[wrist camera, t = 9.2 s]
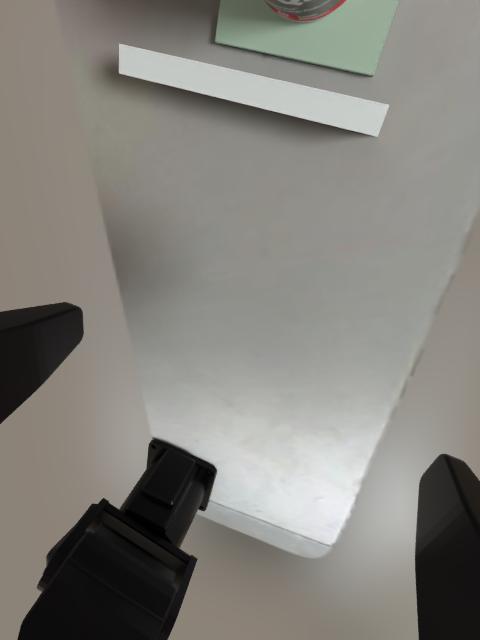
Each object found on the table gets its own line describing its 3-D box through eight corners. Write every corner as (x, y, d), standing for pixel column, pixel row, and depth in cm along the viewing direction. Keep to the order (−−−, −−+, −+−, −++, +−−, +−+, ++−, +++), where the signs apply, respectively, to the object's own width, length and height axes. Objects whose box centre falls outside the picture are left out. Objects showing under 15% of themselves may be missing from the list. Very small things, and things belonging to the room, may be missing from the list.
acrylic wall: (377, 136, 15) (377, 136, 12) (156, 82, 17) (118, 73, 14) (386, 110, 14) (389, 105, 12) (158, 57, 16) (119, 43, 14)
